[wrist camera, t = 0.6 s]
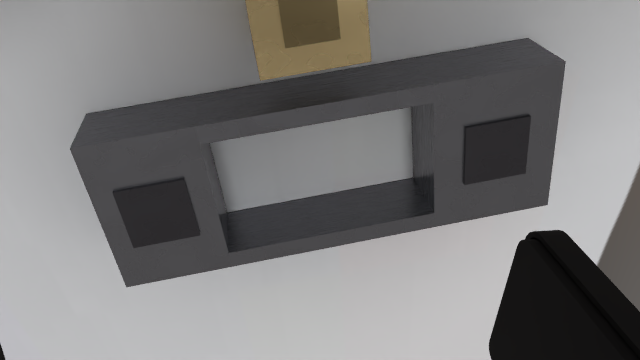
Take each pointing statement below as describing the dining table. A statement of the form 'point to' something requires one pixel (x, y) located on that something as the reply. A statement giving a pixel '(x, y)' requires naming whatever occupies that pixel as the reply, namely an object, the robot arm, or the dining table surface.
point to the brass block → (308, 35)
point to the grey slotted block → (336, 208)
